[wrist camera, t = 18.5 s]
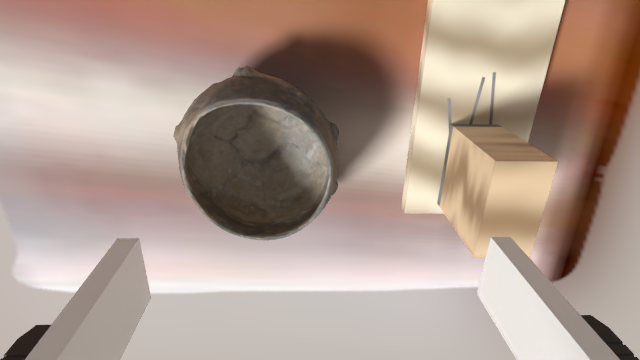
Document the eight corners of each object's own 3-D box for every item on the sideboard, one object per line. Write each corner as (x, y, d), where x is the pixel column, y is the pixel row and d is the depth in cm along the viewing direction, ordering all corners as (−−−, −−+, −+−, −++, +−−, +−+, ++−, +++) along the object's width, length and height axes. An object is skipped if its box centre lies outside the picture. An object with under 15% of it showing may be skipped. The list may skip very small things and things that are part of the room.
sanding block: (450, 124, 39) (496, 161, 30) (498, 124, 39) (558, 161, 30) (437, 203, 43) (474, 257, 34) (481, 203, 43) (529, 256, 34)
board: (431, -31, 35) (437, -32, 33) (561, -26, 35) (572, -27, 34) (401, 206, 45) (404, 213, 43) (503, 206, 45) (509, 213, 44)
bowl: (254, 32, 36) (240, 43, 27) (366, 141, 41) (385, 181, 32) (165, 136, 40) (126, 176, 31) (278, 224, 45) (272, 281, 36)
